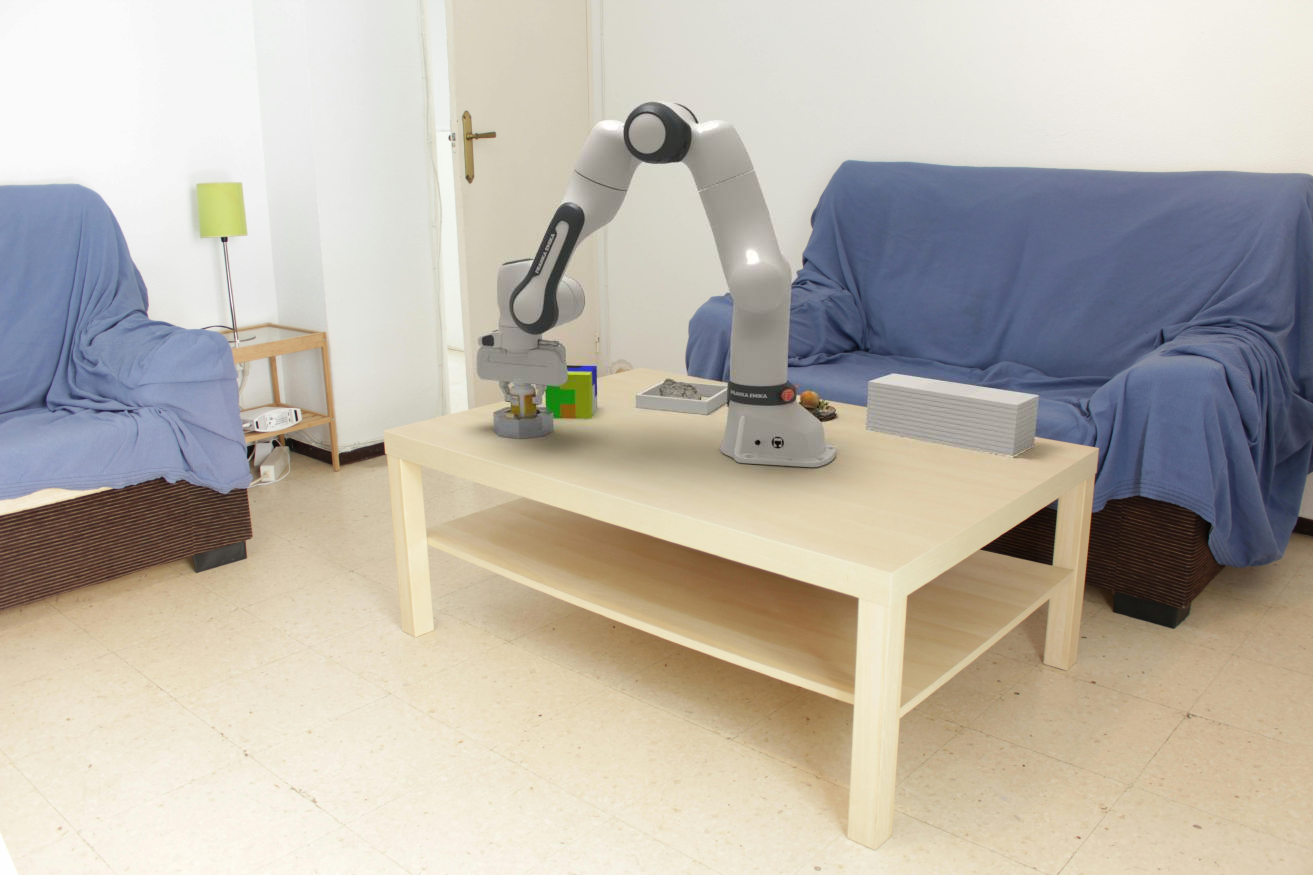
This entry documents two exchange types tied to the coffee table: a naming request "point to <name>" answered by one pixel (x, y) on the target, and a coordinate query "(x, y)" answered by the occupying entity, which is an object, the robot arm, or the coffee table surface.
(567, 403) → the puzzle toy
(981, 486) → the coffee table surface
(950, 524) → the coffee table surface
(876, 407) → the stack of papers
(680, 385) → the rock sample
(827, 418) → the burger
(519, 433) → the ring
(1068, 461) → the coffee table surface
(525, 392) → the supplement bottle
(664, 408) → the grey sample tray
